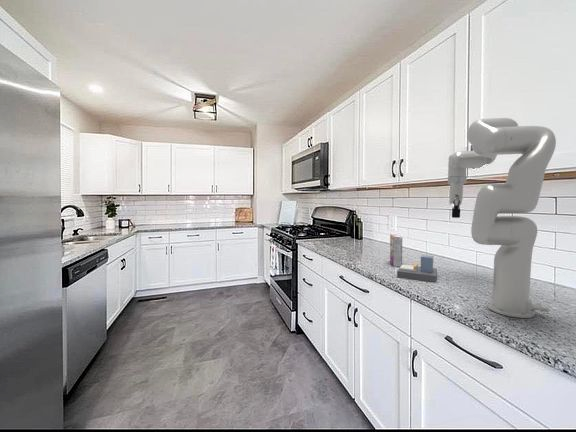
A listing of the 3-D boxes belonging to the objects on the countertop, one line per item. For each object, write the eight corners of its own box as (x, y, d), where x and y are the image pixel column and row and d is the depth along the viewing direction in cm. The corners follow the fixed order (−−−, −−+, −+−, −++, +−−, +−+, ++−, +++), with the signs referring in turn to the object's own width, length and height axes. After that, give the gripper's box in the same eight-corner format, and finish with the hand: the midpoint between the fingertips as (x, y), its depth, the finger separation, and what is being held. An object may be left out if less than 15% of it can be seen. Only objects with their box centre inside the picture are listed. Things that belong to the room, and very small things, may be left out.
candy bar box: (389, 262, 160) (389, 234, 159) (398, 262, 159) (398, 234, 158) (392, 267, 149) (393, 237, 148) (402, 267, 148) (403, 237, 147)
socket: (437, 274, 134) (437, 268, 133) (435, 282, 122) (435, 276, 122) (401, 270, 142) (402, 264, 142) (397, 277, 130) (397, 271, 130)
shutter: (417, 267, 135) (417, 263, 135) (416, 271, 128) (416, 266, 128) (402, 266, 139) (402, 261, 139) (399, 269, 132) (399, 264, 132)
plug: (432, 273, 130) (433, 256, 130) (432, 276, 126) (432, 257, 126) (421, 272, 133) (421, 254, 132) (420, 274, 129) (420, 256, 128)
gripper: (448, 181, 139) (447, 215, 140) (447, 180, 124) (446, 218, 125) (465, 181, 135) (464, 215, 136) (467, 179, 120) (465, 218, 121)
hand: (455, 216), depth 131 cm, fingers open, 9 cm apart
